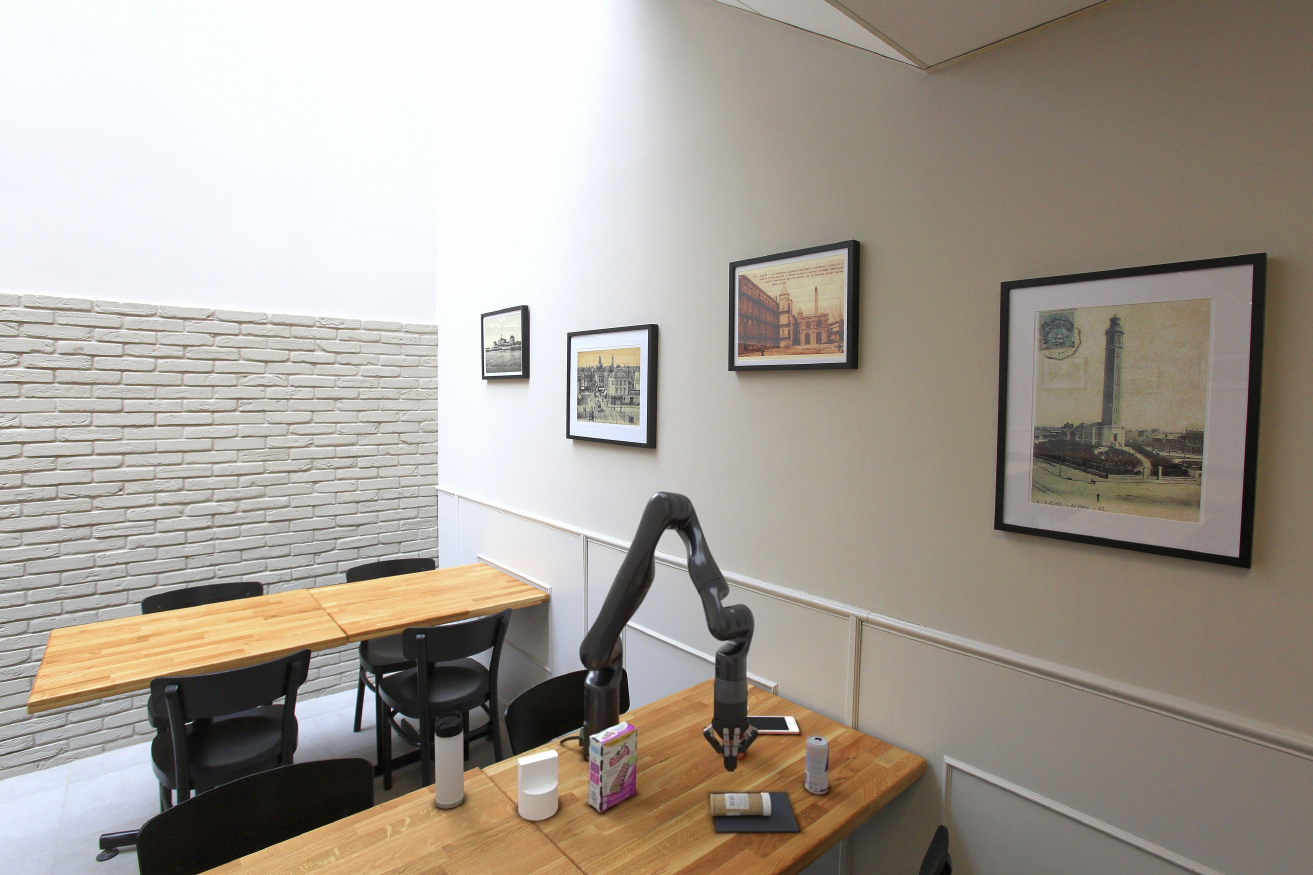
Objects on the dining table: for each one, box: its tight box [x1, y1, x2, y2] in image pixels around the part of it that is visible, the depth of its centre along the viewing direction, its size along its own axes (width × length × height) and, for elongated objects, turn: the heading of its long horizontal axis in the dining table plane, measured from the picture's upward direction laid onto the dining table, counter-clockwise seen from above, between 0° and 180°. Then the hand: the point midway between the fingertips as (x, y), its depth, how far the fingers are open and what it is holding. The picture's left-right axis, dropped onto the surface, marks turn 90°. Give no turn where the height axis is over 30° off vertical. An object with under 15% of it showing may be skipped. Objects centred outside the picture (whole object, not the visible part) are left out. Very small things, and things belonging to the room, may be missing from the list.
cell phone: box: [746, 715, 800, 735], centre depth 187 cm, size 9×18×1 cm, turn 89°
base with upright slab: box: [517, 749, 559, 822], centre depth 149 cm, size 9×9×12 cm
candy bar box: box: [587, 720, 638, 814], centre depth 152 cm, size 11×5×16 cm, turn 134°
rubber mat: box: [709, 791, 800, 834], centre depth 148 cm, size 18×14×1 cm
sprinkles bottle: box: [709, 793, 771, 817], centre depth 147 cm, size 5×5×14 cm
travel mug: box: [434, 710, 465, 810], centre depth 152 cm, size 6×7×20 cm
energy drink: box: [804, 734, 830, 795], centre depth 157 cm, size 5×5×12 cm
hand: (730, 769), depth 147 cm, fingers closed
